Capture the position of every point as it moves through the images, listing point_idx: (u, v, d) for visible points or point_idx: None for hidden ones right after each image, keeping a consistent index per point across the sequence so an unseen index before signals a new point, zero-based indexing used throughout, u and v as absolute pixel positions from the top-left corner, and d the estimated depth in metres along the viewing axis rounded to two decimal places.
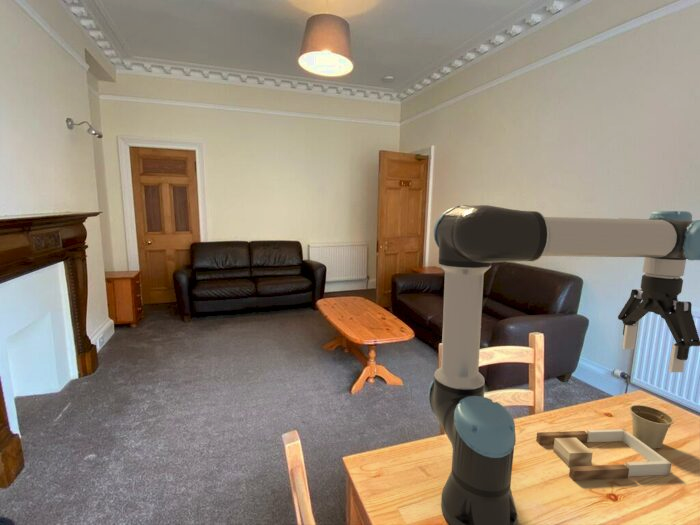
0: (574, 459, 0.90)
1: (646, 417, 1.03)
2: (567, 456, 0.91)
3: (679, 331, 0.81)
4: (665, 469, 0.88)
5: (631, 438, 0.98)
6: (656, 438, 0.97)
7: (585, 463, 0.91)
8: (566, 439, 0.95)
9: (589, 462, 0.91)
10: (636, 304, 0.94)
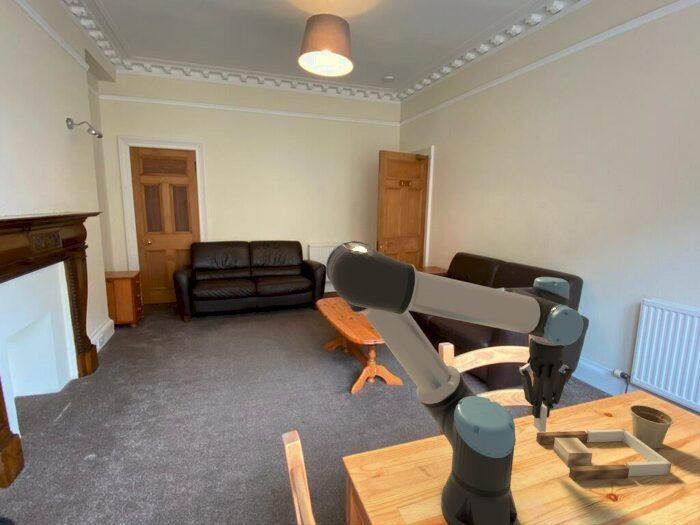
0: (573, 459, 0.90)
1: (646, 417, 1.03)
2: (566, 456, 0.91)
3: (534, 392, 0.90)
4: (665, 469, 0.88)
5: (631, 438, 0.98)
6: (656, 438, 0.97)
7: (585, 463, 0.91)
8: (566, 439, 0.95)
9: (589, 462, 0.91)
10: (558, 380, 0.89)
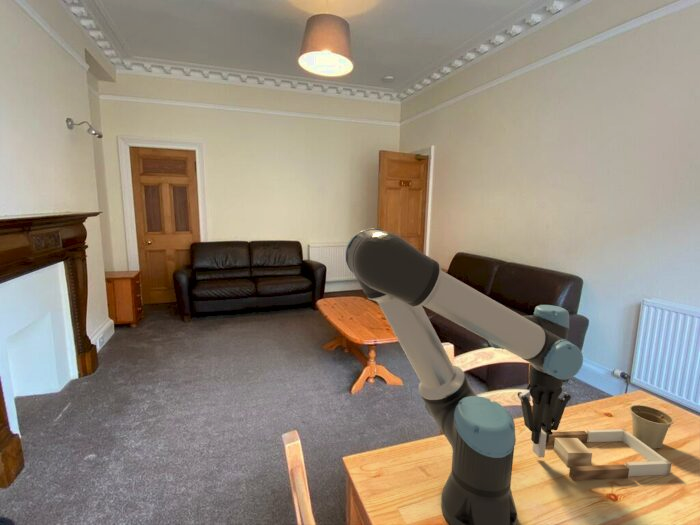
0: (573, 459, 0.90)
1: (646, 417, 1.03)
2: (566, 456, 0.91)
3: (533, 418, 0.91)
4: (665, 469, 0.88)
5: (631, 438, 0.98)
6: (656, 438, 0.97)
7: (584, 463, 0.90)
8: (567, 439, 0.95)
9: (589, 463, 0.90)
10: (558, 407, 0.91)
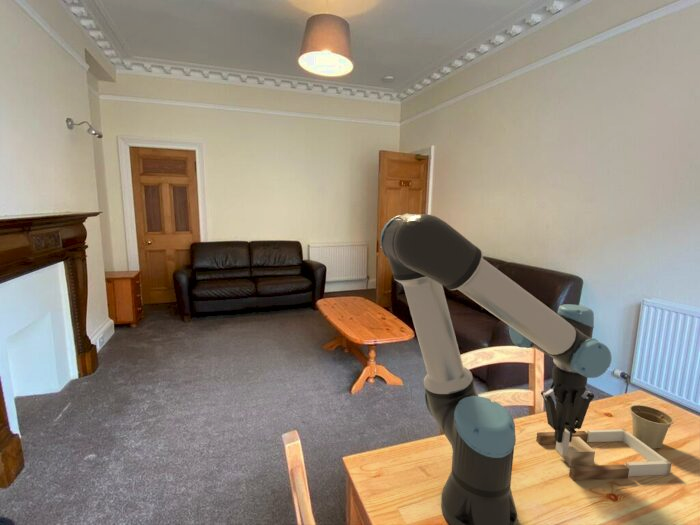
0: (577, 458, 0.90)
1: (646, 417, 1.03)
2: (570, 455, 0.91)
3: (557, 417, 0.92)
4: (665, 469, 0.88)
5: (631, 438, 0.98)
6: (656, 438, 0.97)
7: (587, 462, 0.91)
8: None
9: (592, 461, 0.91)
10: (581, 405, 0.91)
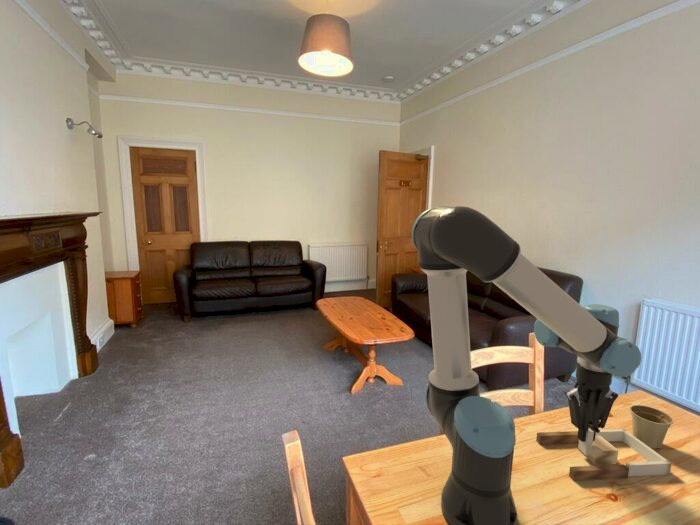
0: (600, 457, 0.91)
1: (646, 417, 1.03)
2: (594, 454, 0.91)
3: (580, 416, 0.92)
4: (665, 469, 0.88)
5: (631, 438, 0.98)
6: (656, 438, 0.97)
7: (611, 461, 0.91)
8: None
9: (615, 460, 0.91)
10: (605, 405, 0.92)
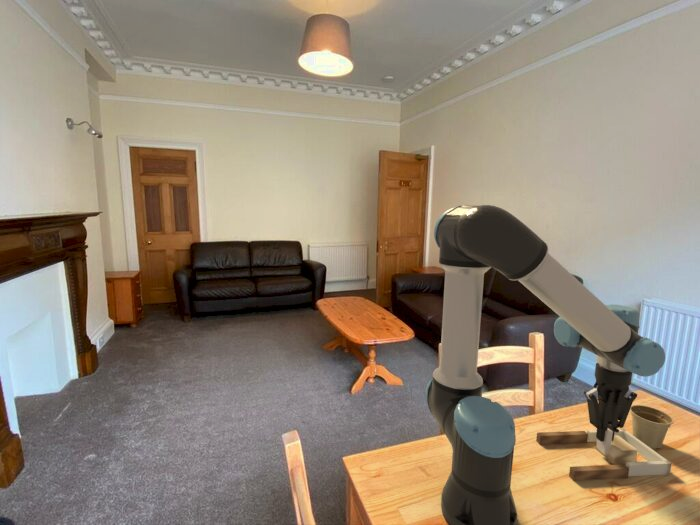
0: (619, 457, 0.91)
1: (646, 417, 1.03)
2: (612, 454, 0.92)
3: (599, 416, 0.93)
4: (665, 469, 0.88)
5: (631, 438, 0.98)
6: (656, 438, 0.97)
7: (630, 460, 0.92)
8: None
9: (634, 459, 0.92)
10: (624, 405, 0.92)
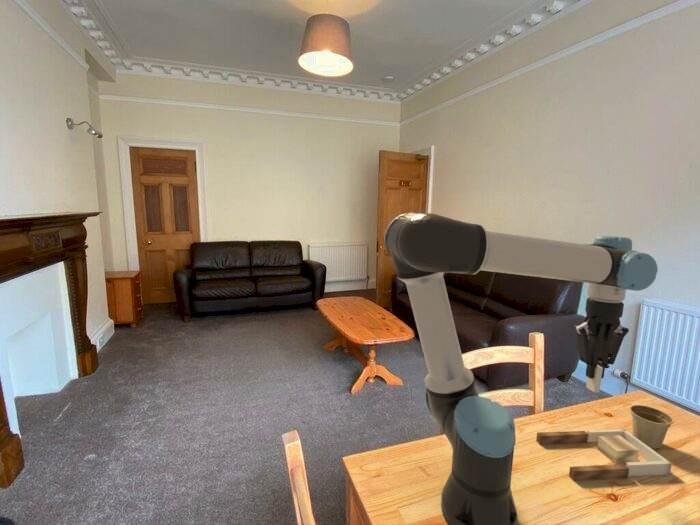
0: (621, 457, 0.91)
1: (646, 417, 1.03)
2: (614, 454, 0.92)
3: (589, 352, 0.90)
4: (665, 469, 0.88)
5: (631, 438, 0.98)
6: (656, 438, 0.97)
7: (632, 460, 0.92)
8: (610, 437, 0.96)
9: (635, 459, 0.92)
10: (614, 340, 0.89)
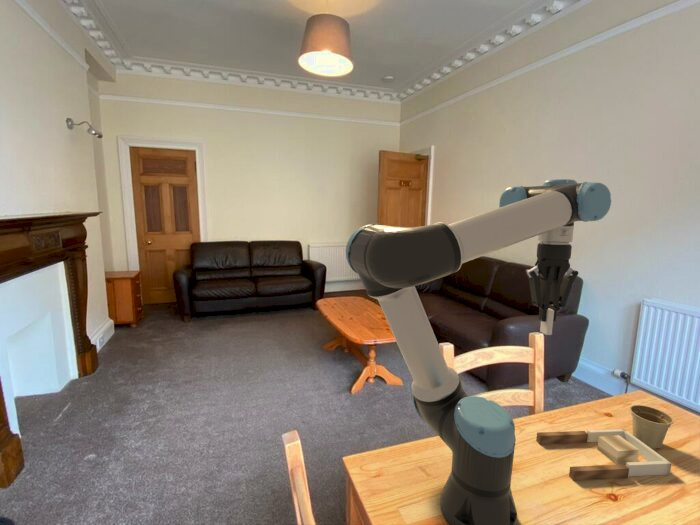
0: (622, 457, 0.91)
1: (646, 417, 1.03)
2: (615, 454, 0.92)
3: (541, 296, 0.92)
4: (665, 469, 0.88)
5: (631, 438, 0.98)
6: (656, 438, 0.97)
7: (632, 460, 0.92)
8: (610, 437, 0.96)
9: (635, 459, 0.92)
10: (565, 284, 0.91)
